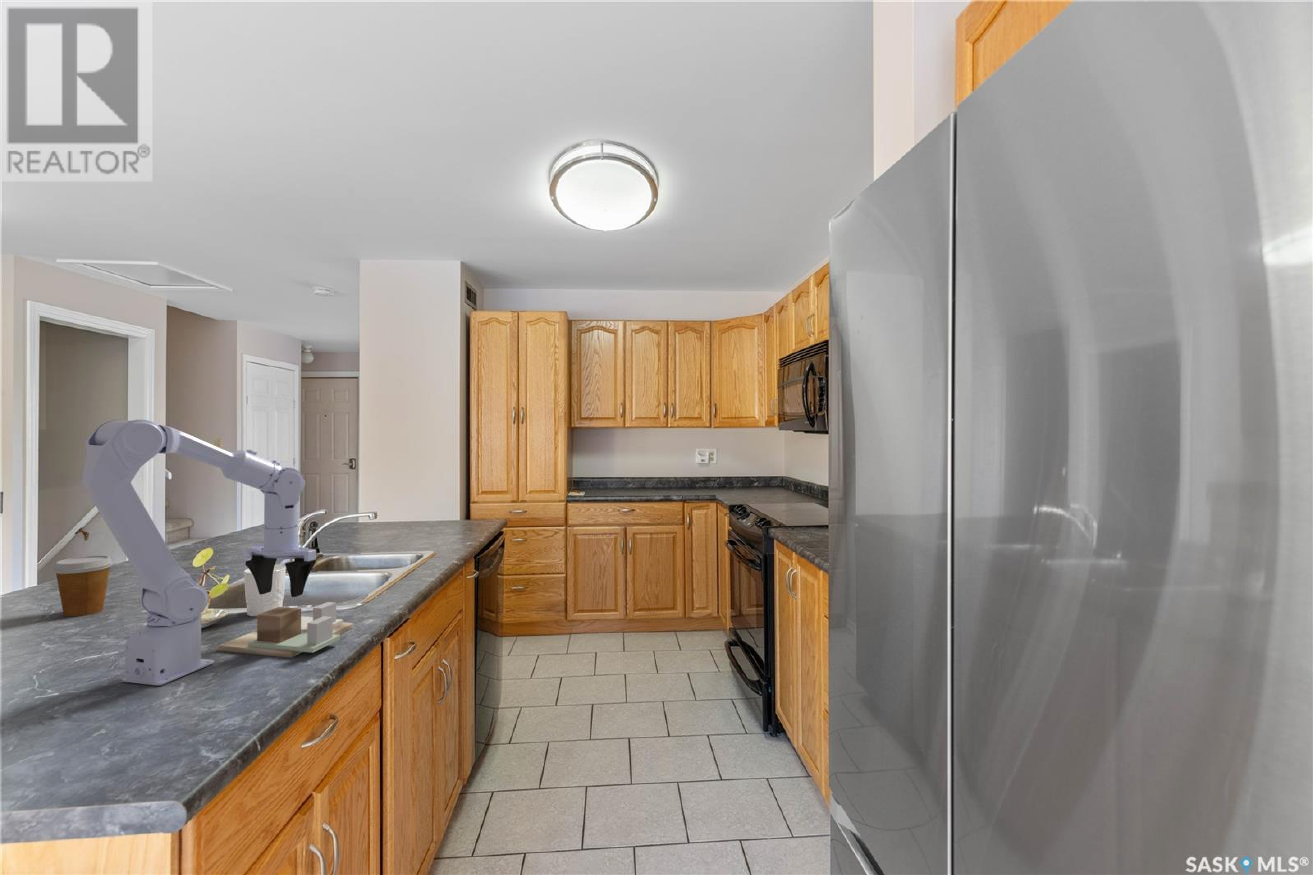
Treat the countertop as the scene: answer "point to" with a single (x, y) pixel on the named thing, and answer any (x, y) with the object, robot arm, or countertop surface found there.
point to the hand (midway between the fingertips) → (281, 594)
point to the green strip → (305, 638)
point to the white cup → (268, 600)
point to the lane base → (242, 647)
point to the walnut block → (278, 624)
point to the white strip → (308, 619)
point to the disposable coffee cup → (82, 584)
